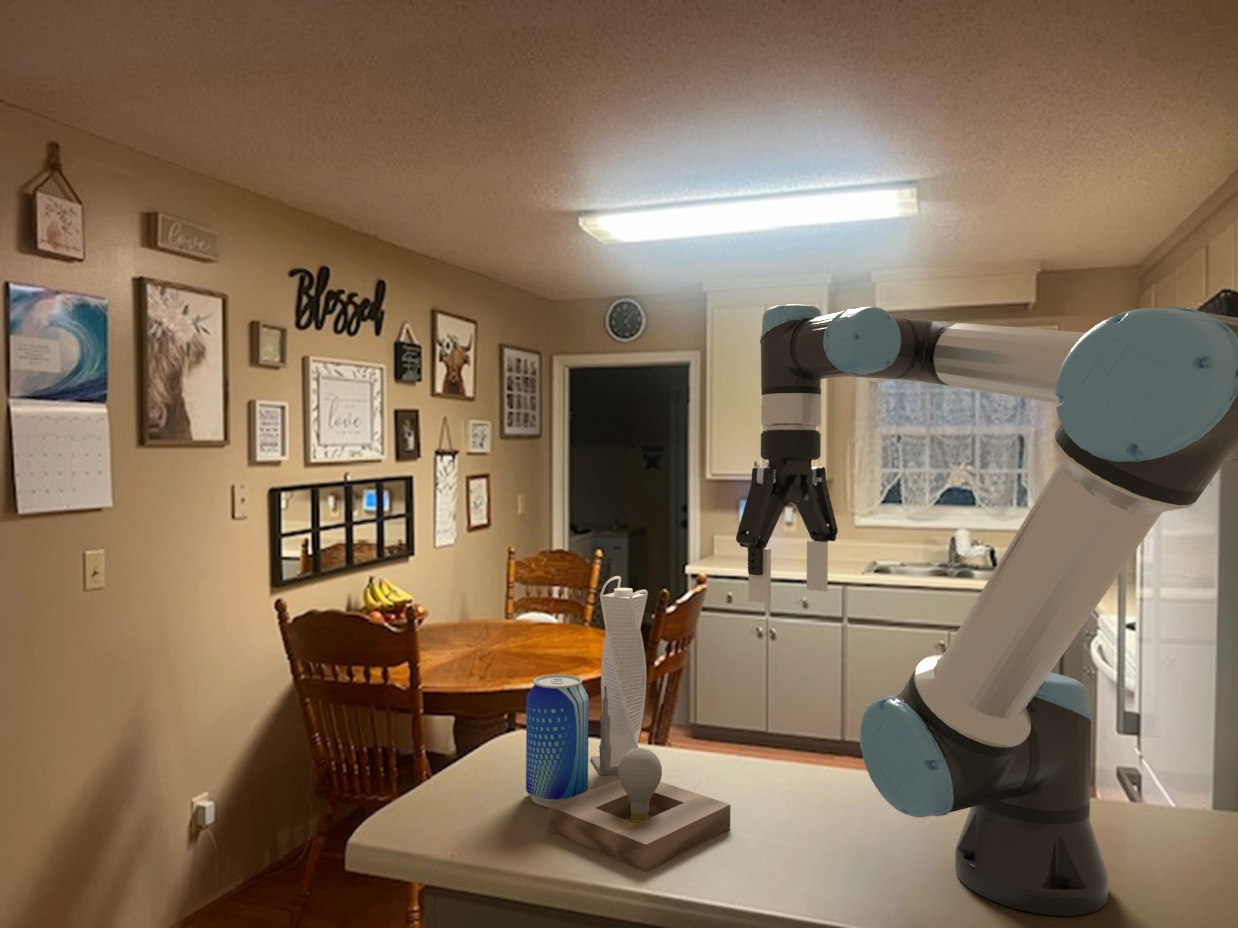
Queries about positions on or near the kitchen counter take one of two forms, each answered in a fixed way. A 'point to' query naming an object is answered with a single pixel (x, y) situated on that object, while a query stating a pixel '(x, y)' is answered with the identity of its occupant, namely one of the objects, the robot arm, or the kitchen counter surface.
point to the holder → (648, 842)
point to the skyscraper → (621, 676)
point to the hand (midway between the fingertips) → (789, 595)
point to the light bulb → (639, 780)
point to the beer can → (556, 739)
